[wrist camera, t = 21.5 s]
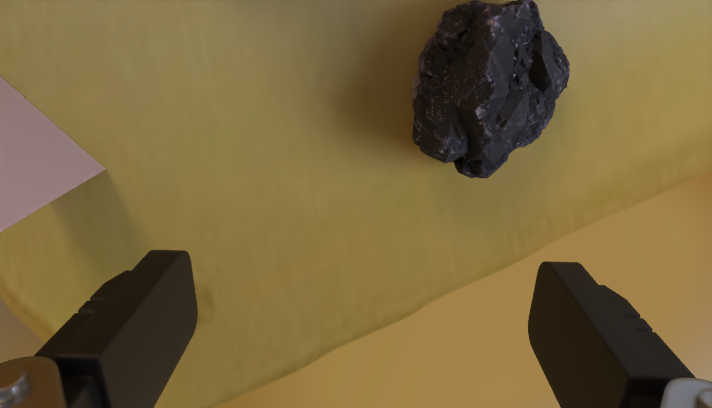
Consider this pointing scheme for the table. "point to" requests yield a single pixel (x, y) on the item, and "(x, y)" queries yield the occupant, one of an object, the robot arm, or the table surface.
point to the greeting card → (35, 159)
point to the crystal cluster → (486, 85)
